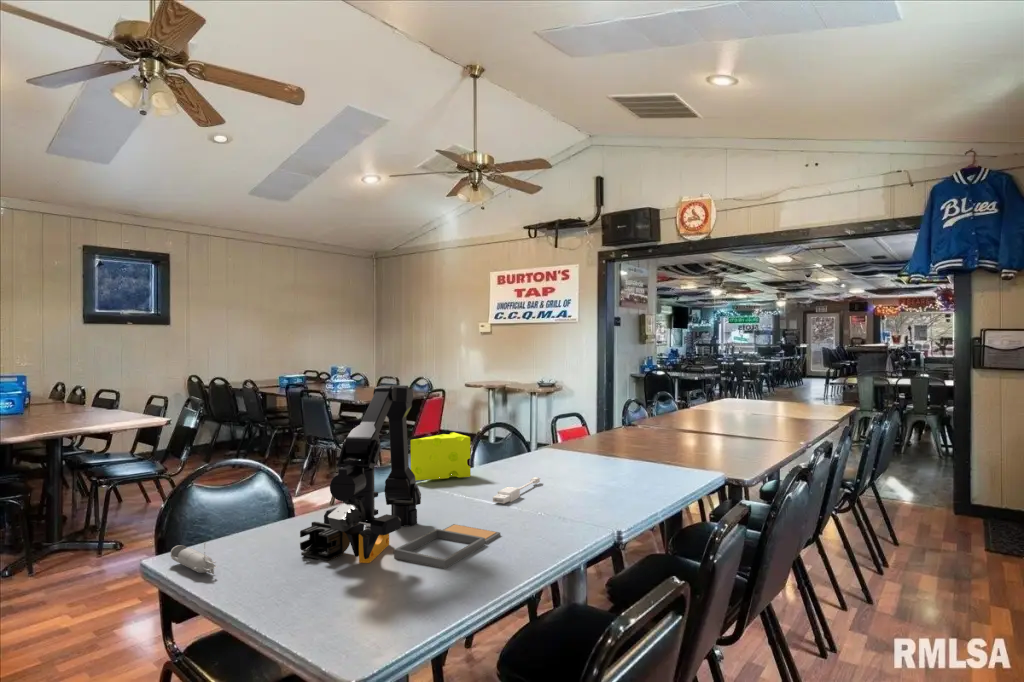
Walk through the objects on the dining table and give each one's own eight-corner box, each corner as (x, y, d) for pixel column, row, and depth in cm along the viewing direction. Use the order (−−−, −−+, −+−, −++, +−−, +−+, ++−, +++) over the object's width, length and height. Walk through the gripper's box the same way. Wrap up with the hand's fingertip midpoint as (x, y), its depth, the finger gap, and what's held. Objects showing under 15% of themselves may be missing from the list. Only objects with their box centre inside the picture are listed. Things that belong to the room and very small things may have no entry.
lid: (438, 535, 150) (438, 531, 150) (453, 527, 156) (453, 523, 156) (486, 545, 143) (486, 540, 143) (500, 536, 149) (500, 531, 149)
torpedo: (164, 562, 133) (164, 534, 133) (185, 555, 137) (185, 528, 137) (202, 581, 122) (202, 550, 122) (224, 573, 126) (224, 544, 126)
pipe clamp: (372, 543, 144) (372, 518, 144) (389, 544, 143) (389, 518, 143) (351, 562, 132) (351, 533, 132) (369, 563, 131) (369, 534, 131)
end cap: (351, 552, 139) (351, 524, 139) (329, 562, 132) (329, 532, 132) (321, 545, 143) (320, 518, 143) (298, 555, 137) (298, 526, 137)
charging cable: (544, 483, 204) (544, 474, 204) (505, 506, 177) (505, 496, 177) (532, 482, 207) (532, 473, 207) (491, 504, 179) (491, 494, 179)
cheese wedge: (464, 482, 205) (463, 441, 205) (410, 480, 209) (410, 440, 209) (476, 470, 224) (476, 432, 224) (427, 469, 228) (427, 431, 228)
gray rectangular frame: (394, 558, 134) (394, 549, 134) (436, 536, 149) (436, 528, 149) (445, 569, 127) (445, 560, 127) (484, 545, 142) (484, 537, 142)
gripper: (305, 492, 129) (305, 561, 129) (367, 503, 120) (368, 578, 120) (341, 481, 139) (341, 546, 139) (402, 491, 130) (402, 560, 130)
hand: (361, 557), depth 131 cm, fingers closed on pipe clamp, 2 cm apart
